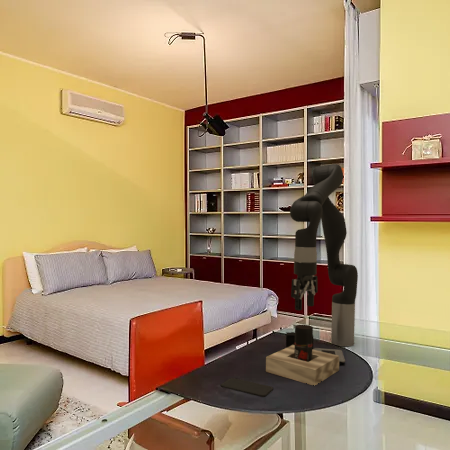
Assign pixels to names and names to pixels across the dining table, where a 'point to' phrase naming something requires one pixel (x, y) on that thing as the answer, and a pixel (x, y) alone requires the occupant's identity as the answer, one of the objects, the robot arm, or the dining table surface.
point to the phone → (247, 387)
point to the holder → (302, 366)
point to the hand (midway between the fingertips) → (304, 308)
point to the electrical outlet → (332, 351)
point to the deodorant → (303, 342)
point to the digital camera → (291, 339)
